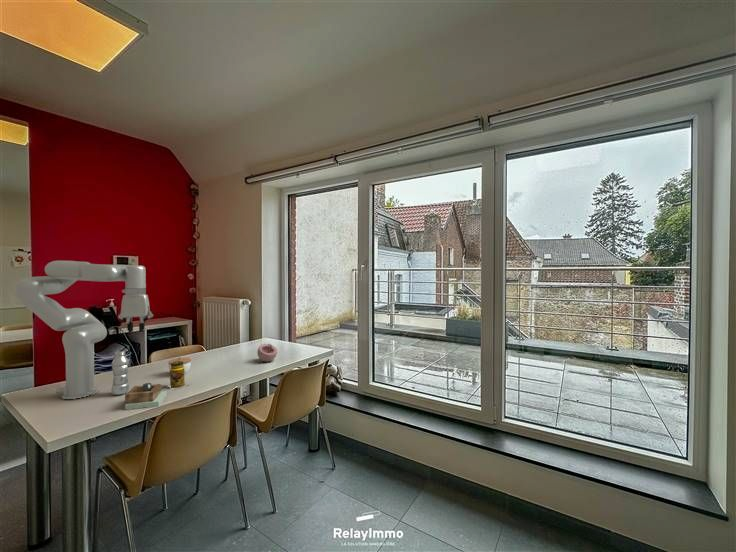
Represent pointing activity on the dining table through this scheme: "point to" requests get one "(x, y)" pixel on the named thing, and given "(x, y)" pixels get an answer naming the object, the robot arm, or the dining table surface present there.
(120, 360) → the plastic bottle
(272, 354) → the pink round bowl
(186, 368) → the white round bowl
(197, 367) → the dining table surface
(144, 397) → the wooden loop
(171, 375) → the condiment
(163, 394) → the peg stand
